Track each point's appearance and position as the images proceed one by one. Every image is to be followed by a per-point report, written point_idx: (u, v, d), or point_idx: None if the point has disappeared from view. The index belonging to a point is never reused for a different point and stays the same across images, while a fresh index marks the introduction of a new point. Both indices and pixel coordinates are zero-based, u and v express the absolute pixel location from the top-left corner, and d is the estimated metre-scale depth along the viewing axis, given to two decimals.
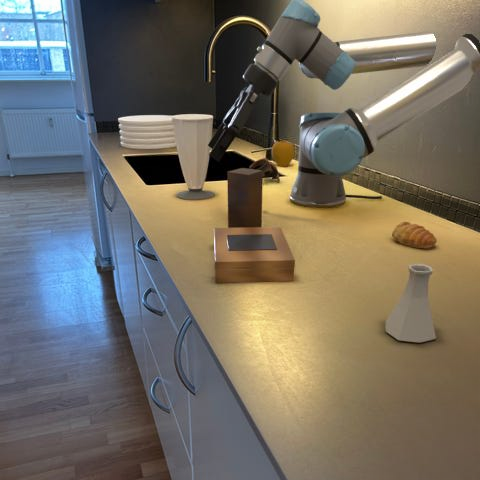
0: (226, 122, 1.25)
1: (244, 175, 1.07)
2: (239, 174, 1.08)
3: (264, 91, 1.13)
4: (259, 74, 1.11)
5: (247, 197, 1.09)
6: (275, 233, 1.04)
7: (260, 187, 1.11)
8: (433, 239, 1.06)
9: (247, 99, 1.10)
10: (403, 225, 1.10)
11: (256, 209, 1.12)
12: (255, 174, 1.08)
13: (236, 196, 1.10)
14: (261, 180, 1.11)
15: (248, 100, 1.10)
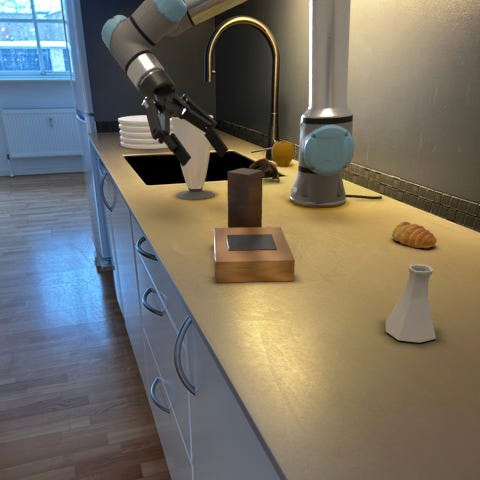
0: (206, 130, 1.20)
1: (244, 175, 1.07)
2: (239, 174, 1.08)
3: (154, 88, 1.11)
4: (141, 90, 1.13)
5: (247, 197, 1.09)
6: (275, 233, 1.04)
7: (260, 187, 1.11)
8: (433, 239, 1.06)
9: (145, 110, 1.10)
10: (403, 225, 1.10)
11: (256, 209, 1.12)
12: (255, 174, 1.08)
13: (236, 196, 1.10)
14: (261, 180, 1.11)
15: (146, 110, 1.10)
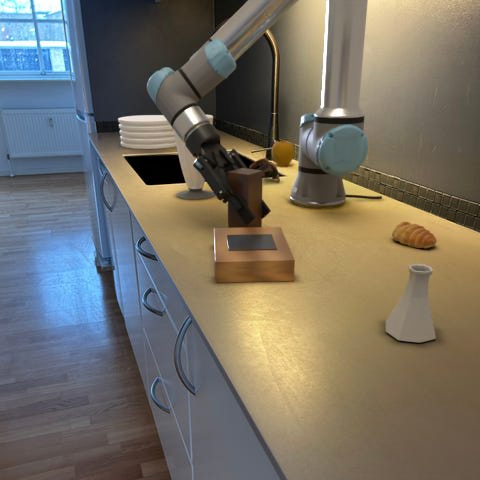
0: None
1: (244, 175, 1.07)
2: (239, 174, 1.08)
3: (201, 142, 1.09)
4: (187, 144, 1.11)
5: (247, 197, 1.09)
6: (275, 233, 1.04)
7: (260, 187, 1.11)
8: (433, 239, 1.06)
9: (199, 171, 1.09)
10: (403, 225, 1.10)
11: (256, 209, 1.12)
12: (255, 174, 1.08)
13: None
14: (261, 180, 1.11)
15: (200, 170, 1.09)
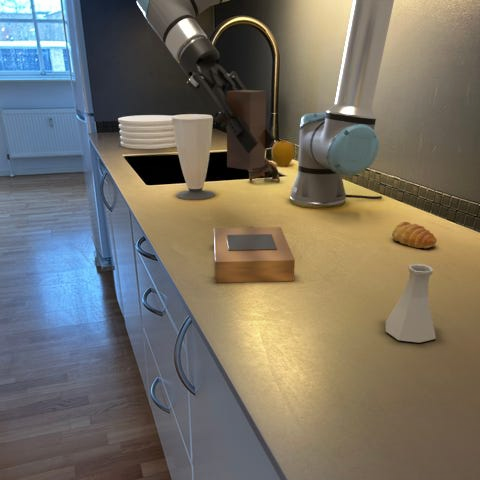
0: None
1: (245, 93, 0.94)
2: (240, 92, 0.95)
3: (197, 58, 0.97)
4: (182, 61, 0.99)
5: (248, 119, 0.96)
6: (275, 233, 1.04)
7: (263, 110, 0.99)
8: (433, 239, 1.06)
9: (195, 89, 0.96)
10: (403, 225, 1.10)
11: (258, 136, 0.99)
12: (258, 93, 0.96)
13: None
14: (264, 102, 0.98)
15: (196, 88, 0.96)
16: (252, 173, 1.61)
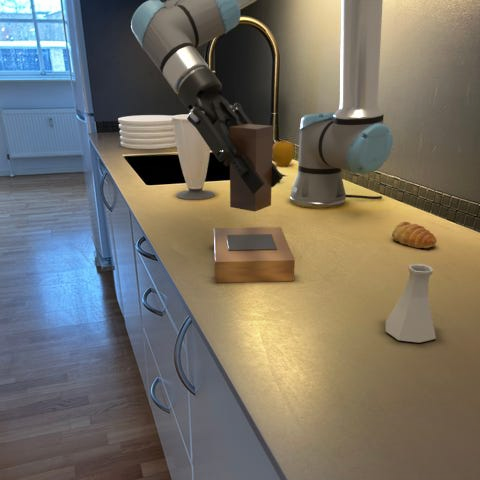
0: None
1: (251, 130, 0.86)
2: (244, 129, 0.86)
3: (197, 90, 0.88)
4: (181, 93, 0.90)
5: (254, 158, 0.88)
6: (275, 233, 1.04)
7: (270, 147, 0.90)
8: (433, 239, 1.06)
9: (195, 125, 0.88)
10: (403, 225, 1.10)
11: (264, 175, 0.91)
12: (264, 129, 0.87)
13: None
14: (271, 138, 0.90)
15: (196, 124, 0.88)
16: None
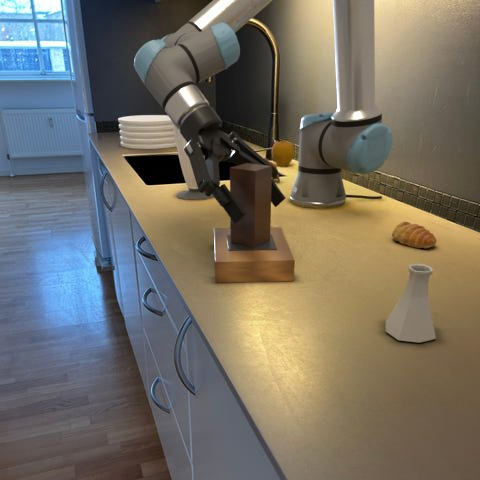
0: None
1: (250, 171, 0.89)
2: (244, 170, 0.90)
3: (198, 128, 0.91)
4: (182, 130, 0.93)
5: (254, 198, 0.91)
6: (275, 233, 1.04)
7: (269, 186, 0.93)
8: (433, 239, 1.06)
9: (189, 156, 0.90)
10: (403, 225, 1.10)
11: (264, 213, 0.94)
12: (263, 170, 0.90)
13: (241, 197, 0.92)
14: (269, 177, 0.93)
15: (190, 155, 0.90)
16: None
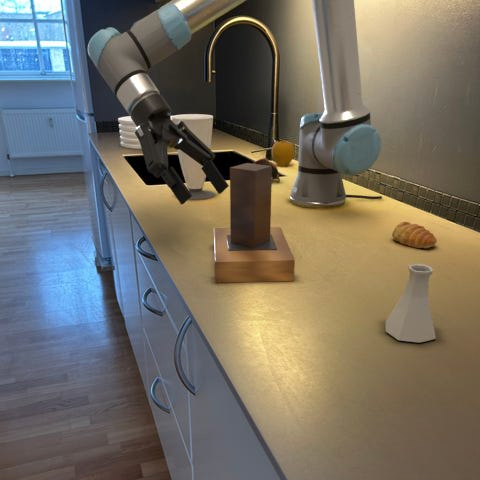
0: (203, 163, 1.07)
1: (250, 171, 0.89)
2: (244, 170, 0.90)
3: (149, 114, 0.97)
4: (133, 115, 0.98)
5: (254, 198, 0.91)
6: (275, 233, 1.04)
7: (269, 186, 0.93)
8: (433, 239, 1.06)
9: (139, 139, 0.95)
10: (403, 225, 1.10)
11: (264, 213, 0.94)
12: (263, 170, 0.90)
13: (241, 197, 0.92)
14: (269, 177, 0.93)
15: (140, 138, 0.95)
16: None
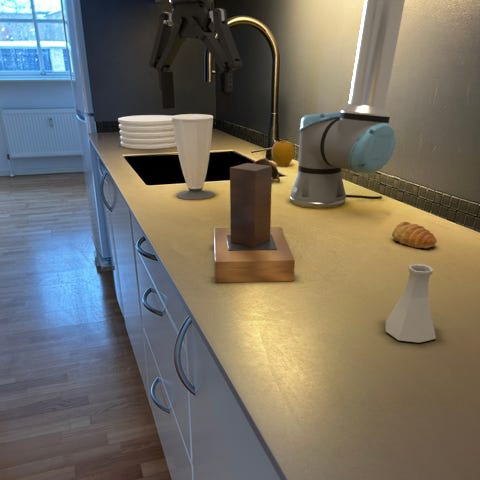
0: (163, 68, 0.98)
1: (250, 171, 0.89)
2: (244, 170, 0.90)
3: (211, 0, 0.89)
4: None
5: (254, 198, 0.91)
6: (275, 233, 1.04)
7: (269, 186, 0.93)
8: (433, 239, 1.06)
9: (220, 21, 0.87)
10: (403, 225, 1.10)
11: (264, 213, 0.94)
12: (263, 170, 0.90)
13: (241, 197, 0.92)
14: (269, 177, 0.93)
15: (221, 21, 0.88)
16: None
